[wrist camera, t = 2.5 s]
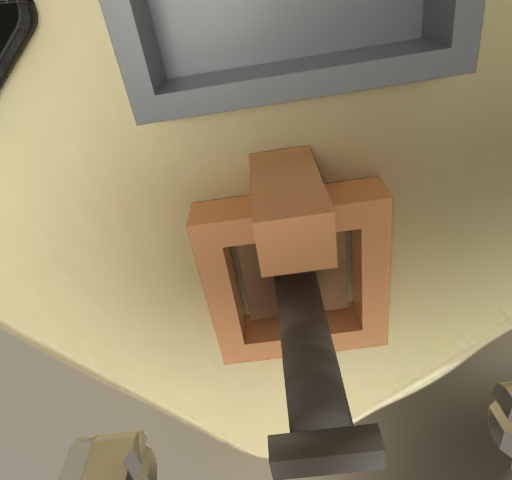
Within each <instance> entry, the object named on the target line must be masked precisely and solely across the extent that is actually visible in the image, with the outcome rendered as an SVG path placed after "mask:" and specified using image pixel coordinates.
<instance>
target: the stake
mask: <svg viewBox="0 0 512 480" xmlns="http://www.w3.org/2000/svg"><path fill="white" fill-rule="evenodd" d="M336 243H337V263H338V268H331V269H323V270H316V271H308V272H301V273H293V274H286V275H278V276H271V277H263V278H262V277H261V272H260V266H259V260H258V255H257V249H256V243H254V244H247V245H240V246H236V249H237V254H238V258H239V263H240V268H241V273H242V278H243V283H244V287H245V292H246V297H247V302H248V307H249V312H250V316H251V320H255V319H263V318H271V317H278V320H279V330H280V340H281V349H282V359H283V369H284V378H285V388H286V398H287V407H288V417H289V427H290V433H285V434H276V435H268V449H269V464H270V468H271V472H272V476H273V480H284V479H294V478H304V477H313V476H323V475H332V474H342V473H351V472H361V471H370V470H380V469H385V456H386V449H385V446H384V443H383V439H382V436H381V433H380V430H379V426H378V424H377V423H375V424H367V425H358V426H353V421H352V417H351V413H350V409H349V405H348V401H347V397H346V393H345V389H344V385H343V381H342V377H341V373H340V369H339V365H338V361H337V357H336V353H335V349H334V345H333V341H332V336H331V332H330V328H329V324H328V320H327V316H326V312H325V311H326V310H334V309H342V308H348V284H347V256H346V231H342V232H336Z"/></svg>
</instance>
